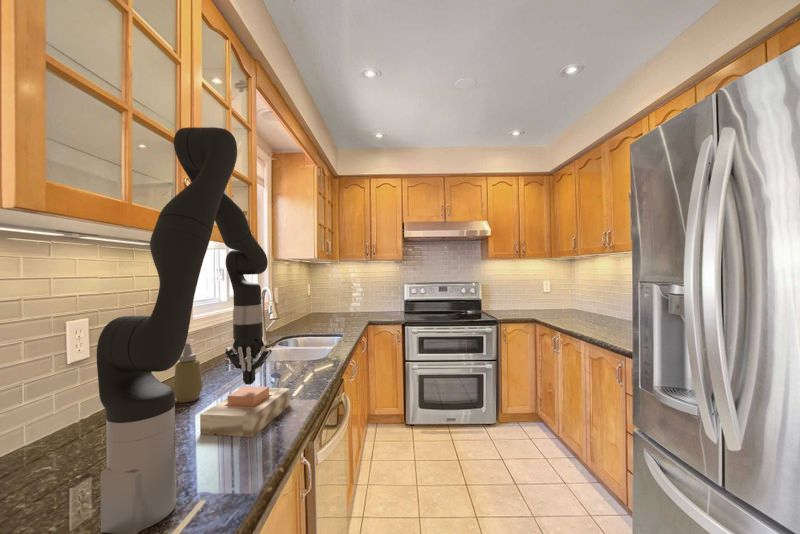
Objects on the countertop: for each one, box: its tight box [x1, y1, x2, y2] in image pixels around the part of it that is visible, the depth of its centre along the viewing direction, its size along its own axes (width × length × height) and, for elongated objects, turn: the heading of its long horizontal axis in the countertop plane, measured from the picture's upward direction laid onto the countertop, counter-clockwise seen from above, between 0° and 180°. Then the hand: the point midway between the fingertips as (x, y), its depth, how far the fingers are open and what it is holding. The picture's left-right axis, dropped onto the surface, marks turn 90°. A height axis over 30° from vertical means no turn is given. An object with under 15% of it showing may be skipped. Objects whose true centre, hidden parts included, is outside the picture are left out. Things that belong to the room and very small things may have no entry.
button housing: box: [199, 387, 291, 438], centre depth 95 cm, size 20×14×5 cm
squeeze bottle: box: [172, 342, 204, 404], centre depth 110 cm, size 8×8×18 cm
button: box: [227, 385, 270, 407], centre depth 95 cm, size 8×8×4 cm
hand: (249, 383), depth 95 cm, fingers closed
